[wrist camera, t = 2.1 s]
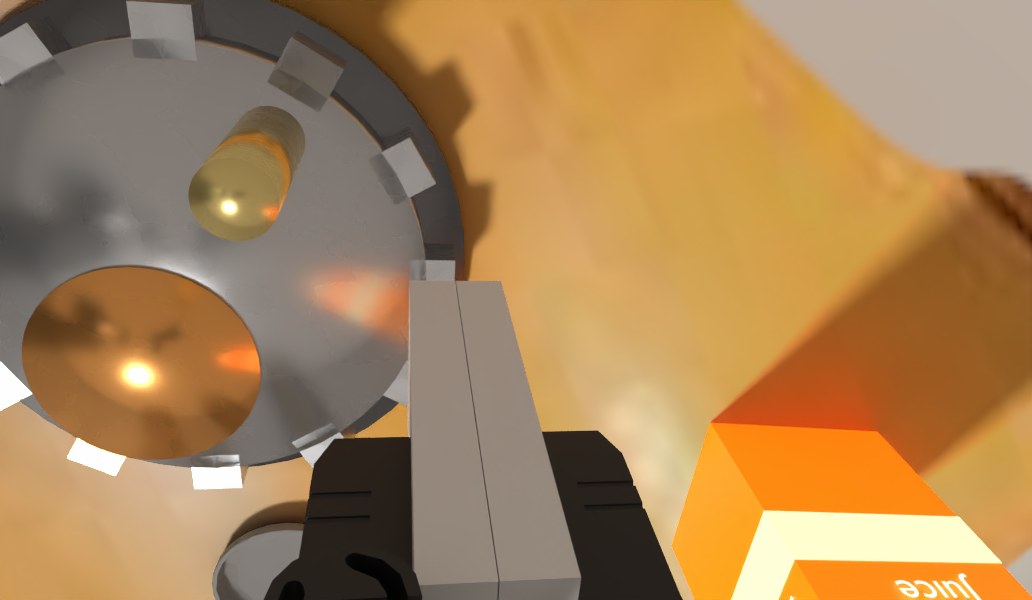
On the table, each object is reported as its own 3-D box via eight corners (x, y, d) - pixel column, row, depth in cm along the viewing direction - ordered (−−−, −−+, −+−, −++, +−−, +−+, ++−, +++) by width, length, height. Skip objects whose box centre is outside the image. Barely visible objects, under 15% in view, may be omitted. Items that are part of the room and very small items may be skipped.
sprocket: (-148, 343, 27) (-327, 481, 21) (38, -132, 22) (-122, -155, 15) (312, 521, 34) (289, 671, 27) (544, 184, 28) (589, 267, 22)
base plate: (-152, 336, 28) (-162, 344, 28) (39, -157, 23) (30, -160, 22) (319, 519, 35) (317, 528, 34) (558, 173, 29) (561, 178, 29)
